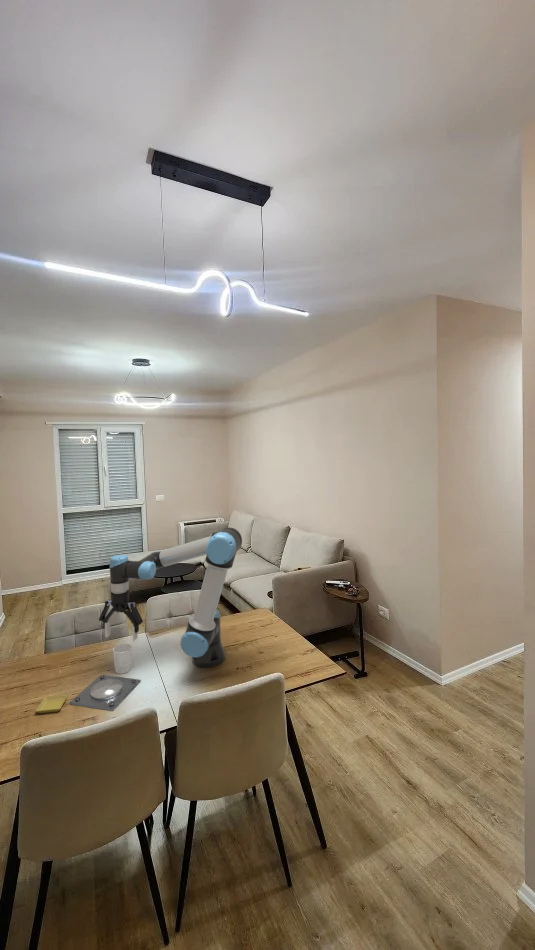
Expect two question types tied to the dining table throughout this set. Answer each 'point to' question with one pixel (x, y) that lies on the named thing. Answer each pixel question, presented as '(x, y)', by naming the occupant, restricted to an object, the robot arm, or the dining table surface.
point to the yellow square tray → (51, 704)
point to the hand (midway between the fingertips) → (121, 637)
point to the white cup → (122, 658)
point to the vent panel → (105, 692)
